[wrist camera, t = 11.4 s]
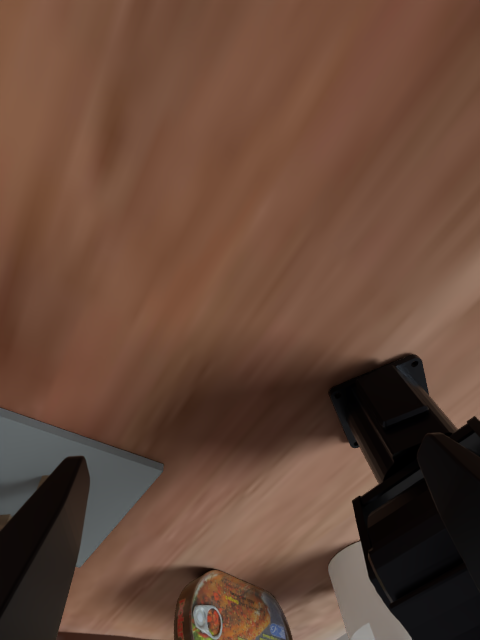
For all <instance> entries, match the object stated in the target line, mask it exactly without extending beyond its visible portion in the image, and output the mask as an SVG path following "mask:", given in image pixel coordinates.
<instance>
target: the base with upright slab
mask: <svg viewBox="0 0 480 640" xmlns="http://www.w3.org/2000/svg"><path fill="white" fill-rule="evenodd" d="M328 572H329V575H330V578H331V582H332V585H333V588H334V592H335V595H336V598H337V601H338V605H339V608H340V611H341V615H342V618H343V621H344V625H345V628H346V631H347V634H348V638H349V640H412V638H411V637H410V635H409V634H408V632H407V631H406V629H405V628H404V627H403V626H402V624H401V623H400V622H399V621H398V620H397V619H396V618H395V616H394V615H393V614H392V613H391V612H390V611H389V609H388V608H387V606H386V605H385V604H384V602H383V601H382V599H381V597H380V596H379V595H378V593H377V592H376V590H375V587H374V586H373V584H372V583H371V581H370V579H369V577H368V572H367V568H366V563H365V559H364V554H363V550H362V545H361V541H359V542H356V543H354V544H352V545H350V546H348V547H346V548H345V549H343V550H342V551H340V552H339V553H337V554H336V555H335V557H334V558H333V559H332V560H331V562H330V564H329V566H328Z"/></svg>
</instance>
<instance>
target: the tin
mask: <svg viewBox="0 0 480 640" xmlns="http://www.w3.org/2000/svg"><path fill="white" fill-rule="evenodd" d="M174 640H293V639H292V635H291V631H290V628H289V625H288V622H287V620H286V617H285V615H284V613H283V611H282V609H281V607H280V605H279V604H278V602H277V601H276V600H275V598H274V597H273V596H272V595H271V594H270V593H269V592H267V591H266V590H264V589H261V588H259V587H256V586H254V585H252V584H249V583H247V582H244V581H242V580H240V579H238V578H235V577H233V576H231V575H229V574H227V573H224V572H222V571H219V570H211V571H209V572H207V573H205V574H204V575H203V576H201V577H199V578H197V579H195V580H193V581H192V582H190V583H189V584H188V585H187V586H186V587H185V588H184V590H183V591H182V593H181V594H180V596H179V599H178V601H177V605H176V612H175V620H174Z"/></svg>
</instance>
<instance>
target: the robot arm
mask: <svg viewBox="0 0 480 640" xmlns="http://www.w3.org/2000/svg"><path fill="white" fill-rule="evenodd" d="M412 362H413V363H412ZM336 393H338V394H336ZM335 394H336V395H335ZM329 396H330V398H331V401H332V403H333V406H334V408H335V410H336V413H337V415H338V417H339V420H340V422H341V425H342V427H343V429H344V432H345V434H346V437H347V439H348V441H349V443H350V445H351V447H352V448H358V447H360V449H361V450H362V452H363V454H364V456H365V458H366V460H367V462H368V464H369V466H370V468H371V470H372V472H373V474H374V476H375V478H376V480H377V482H378V483H379V484H378V485H377V486H376V487H374V488H373V489H371V490H370V491H368V492H367V493H365V494H364V495H362V496H358V497H357V498H355V499H354V500H352V503H353V508H354V512H355V518H356V522H357V527H358V532H359V536H360V541H361V545H362V550H363V554H364V559H365V563H366V568H367V572H368V577H369V579H370V581H371V583H372V584H373V586H374V587H375V590H376V592H377V593H378V595H379V596H380V597H381V599H382V601H383V602H384V604H385V605H386V606H387V608H388V609H389V611H390V612H391V613H392V614H393V615H394V616H395V618H396V619H397V620H398V621H399V622H400V623H401V624H402V626H403V627H404V628H405V629H406V631H407V632H408V634H409V635H410V637H411V638H412V640H480V420H478V419H477V418H476V417H475V416H474V417H473V418H471V419H470V420H468V421H467V424H466V425H464V426H463V427H461V428H460V429H457V428H456V427H455V425H454V424H453V423H452V422H451V421H450V420H449V418H448V417H447V416H446V415H445V414H444V413H443V411H442V410H441V409H440V408H439V407H438V406H437V404H436V403H435V402H434V401H433V400H432V399H431V397H430V396H429V393H428V388H427V383H426V378H425V373H424V369H423V364H422V360H421V359H420V358H419V357H418V356H417V355H410V356H407V357H405V358H402V359H400V360H398V361H395V362H393V363H390V364H388V365H386V366H383V367H381V368H378V369H376V370H374V371H371V372H369V373H366V374H364V375H362V376H359V377H357V378H354V379H352V380H350V381H347V382H345V383H342V384H340V385H338V386H335V387H333V388H331V389H330V391H329ZM89 489H90V475H89V471H88V467H87V462H86V459H85V457H84V456H69V457H66V458H65V459H64V460H63V461H62V462H61V463H60V464H59V465H58V466H57V467H56V469H55V470H54V471H53V472H52V473H51V474H50V475H49V476H48V478H47V479H46V480H45V481H44V482H43V483H42V484H41V485H40V486H39V488H38V489H37V490H36V491H35V492H34V493H33V494H32V495H31V497H30V498H29V499H28V500H27V501H26V502H25V503H24V504H23V506H22V507H21V508H20V509H19V510H18V511H17V512H16V513H15V515H14V516H13V517H12V518H11V519H10V520H9V521H8V522H7V524H6V525H5V526H4V527H3V528H2V529H1V530H0V640H56V637H57V634H58V630H59V626H60V622H61V619H62V615H63V611H64V608H65V604H66V600H67V597H68V593H69V589H70V585H71V582H72V578H73V574H74V571H75V567H76V563H77V559H78V555H79V550H80V545H81V539H82V533H83V526H84V520H85V514H86V508H87V501H88V495H89Z"/></svg>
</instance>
